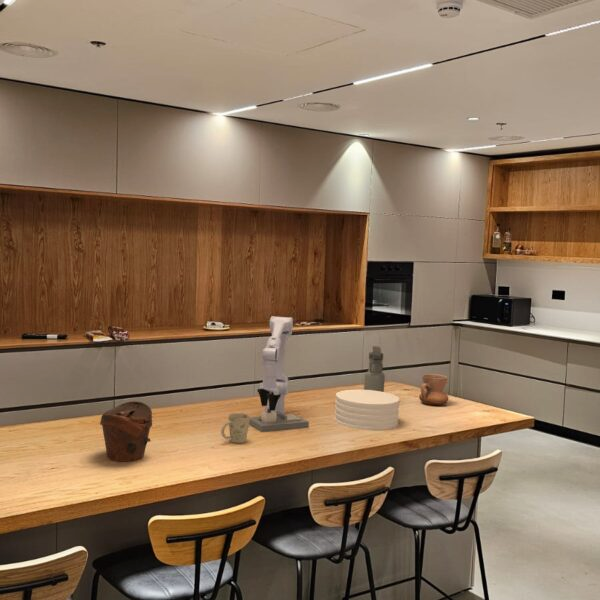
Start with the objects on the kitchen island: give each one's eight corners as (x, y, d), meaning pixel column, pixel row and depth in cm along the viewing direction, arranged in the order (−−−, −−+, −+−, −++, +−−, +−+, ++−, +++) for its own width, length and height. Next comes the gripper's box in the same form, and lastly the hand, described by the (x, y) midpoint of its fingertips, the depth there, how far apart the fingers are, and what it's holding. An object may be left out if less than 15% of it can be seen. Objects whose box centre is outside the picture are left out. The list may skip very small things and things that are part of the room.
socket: (247, 423, 299) (247, 417, 298) (292, 419, 309) (293, 413, 309) (261, 432, 287) (261, 426, 286) (308, 427, 297) (308, 421, 297)
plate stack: (360, 433, 293) (361, 406, 292) (322, 417, 317) (323, 392, 316) (410, 426, 308) (412, 400, 307) (371, 411, 332) (372, 387, 331)
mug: (253, 441, 273) (254, 416, 272) (228, 447, 264) (230, 421, 263) (238, 436, 278) (240, 411, 277) (214, 442, 269) (215, 416, 268)
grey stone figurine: (384, 406, 343) (387, 349, 340) (363, 405, 343) (367, 348, 341) (381, 401, 353) (385, 346, 351) (362, 400, 353) (365, 345, 351)
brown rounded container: (102, 467, 234) (105, 414, 233) (94, 449, 252) (97, 400, 251) (156, 463, 241) (159, 412, 240) (144, 447, 259) (147, 399, 258)
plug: (260, 425, 296) (261, 408, 296) (271, 424, 299) (272, 407, 298) (265, 428, 293) (266, 410, 292) (275, 427, 295) (276, 409, 295)
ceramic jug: (434, 398, 366) (435, 371, 364) (455, 404, 354) (457, 376, 353) (409, 402, 355) (410, 375, 354) (430, 409, 344) (432, 380, 342)
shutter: (275, 416, 302) (276, 411, 301) (292, 415, 305) (292, 410, 305) (284, 421, 295) (284, 416, 294) (301, 420, 299) (301, 415, 298)
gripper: (253, 373, 298) (252, 404, 299) (268, 380, 285) (267, 413, 287) (268, 372, 301) (267, 403, 303) (284, 379, 289) (282, 411, 290)
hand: (268, 408), depth 295 cm, fingers open, 7 cm apart
